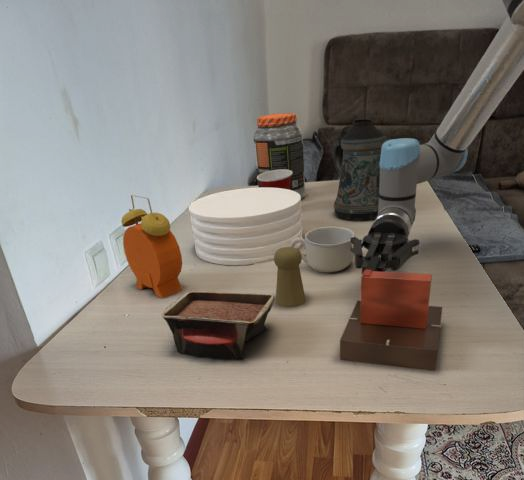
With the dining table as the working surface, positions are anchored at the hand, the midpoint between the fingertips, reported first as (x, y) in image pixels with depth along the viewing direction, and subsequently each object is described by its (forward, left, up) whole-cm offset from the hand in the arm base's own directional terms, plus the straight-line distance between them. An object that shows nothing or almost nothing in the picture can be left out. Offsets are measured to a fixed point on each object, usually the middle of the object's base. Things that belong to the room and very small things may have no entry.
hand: (369, 279), depth 78 cm
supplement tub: (+43, -85, -10) cm, 96 cm away
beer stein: (+14, -68, -10) cm, 70 cm away
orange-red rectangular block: (-5, +4, -5) cm, 8 cm away
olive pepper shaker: (+16, -8, -10) cm, 21 cm away
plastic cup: (+39, -68, -10) cm, 79 cm away
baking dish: (+23, +9, -10) cm, 27 cm away
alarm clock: (+47, -10, -10) cm, 49 cm away
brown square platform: (-5, +4, -9) cm, 11 cm away
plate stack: (+37, -39, -10) cm, 55 cm away
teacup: (+14, -26, -10) cm, 31 cm away
